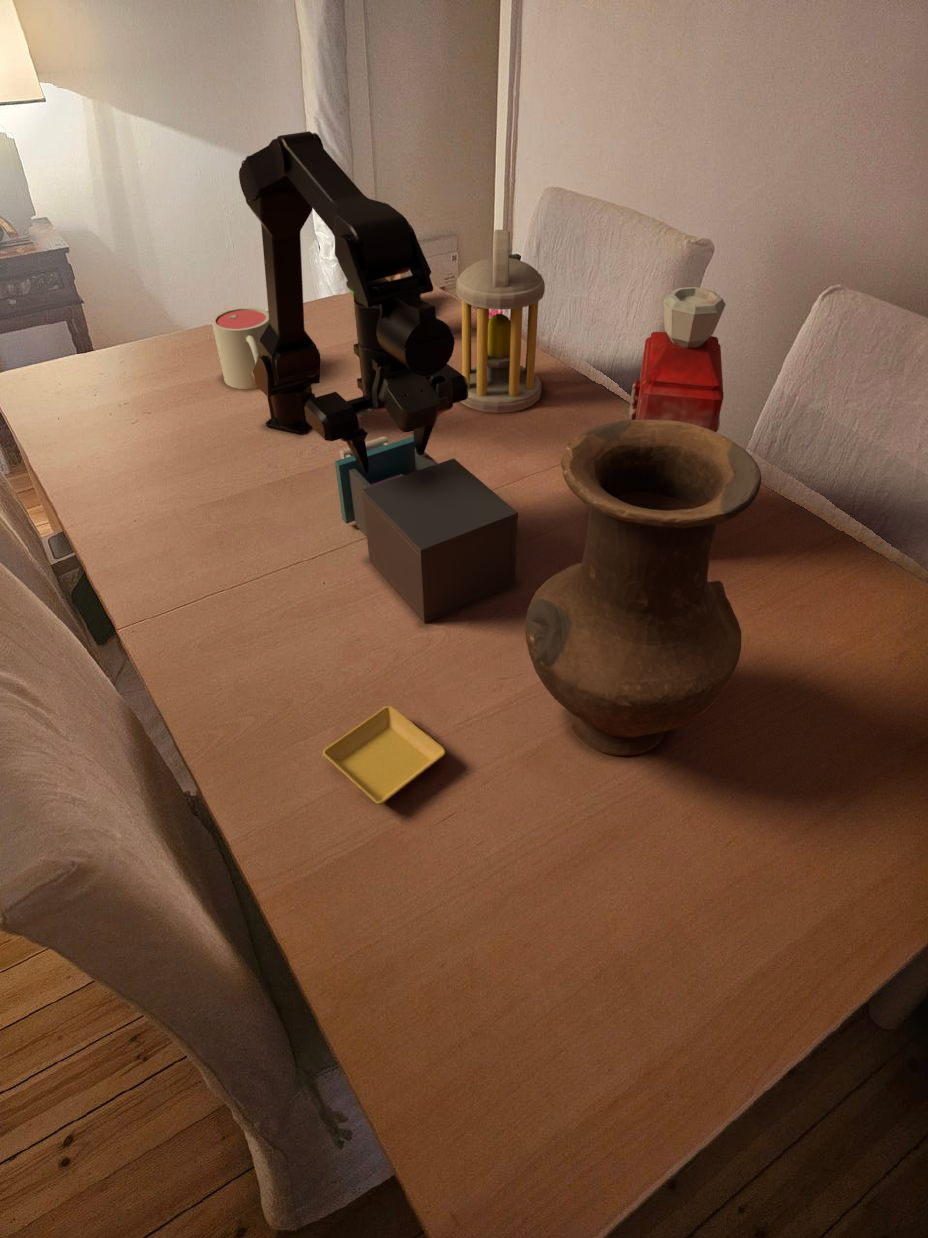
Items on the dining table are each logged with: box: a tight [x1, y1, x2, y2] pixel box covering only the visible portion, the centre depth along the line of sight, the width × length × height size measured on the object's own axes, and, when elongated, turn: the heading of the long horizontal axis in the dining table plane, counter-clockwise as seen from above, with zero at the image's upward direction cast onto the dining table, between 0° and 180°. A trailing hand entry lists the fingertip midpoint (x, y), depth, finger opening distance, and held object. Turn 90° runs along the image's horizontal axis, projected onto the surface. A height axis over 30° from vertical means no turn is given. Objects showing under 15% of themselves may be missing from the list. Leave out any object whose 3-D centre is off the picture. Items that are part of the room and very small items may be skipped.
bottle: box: [627, 286, 727, 433], centre depth 97 cm, size 14×10×30 cm
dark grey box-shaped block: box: [362, 458, 519, 624], centre depth 97 cm, size 14×13×11 cm
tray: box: [334, 435, 439, 538], centre depth 104 cm, size 17×11×9 cm
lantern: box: [455, 229, 546, 414], centre depth 126 cm, size 14×14×25 cm
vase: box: [524, 419, 762, 756], centre depth 73 cm, size 19×19×30 cm
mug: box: [211, 306, 269, 390], centre depth 134 cm, size 14×9×10 cm
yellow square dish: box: [322, 705, 447, 805], centre depth 78 cm, size 9×9×2 cm
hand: (393, 462), depth 100 cm, fingers open, 7 cm apart
